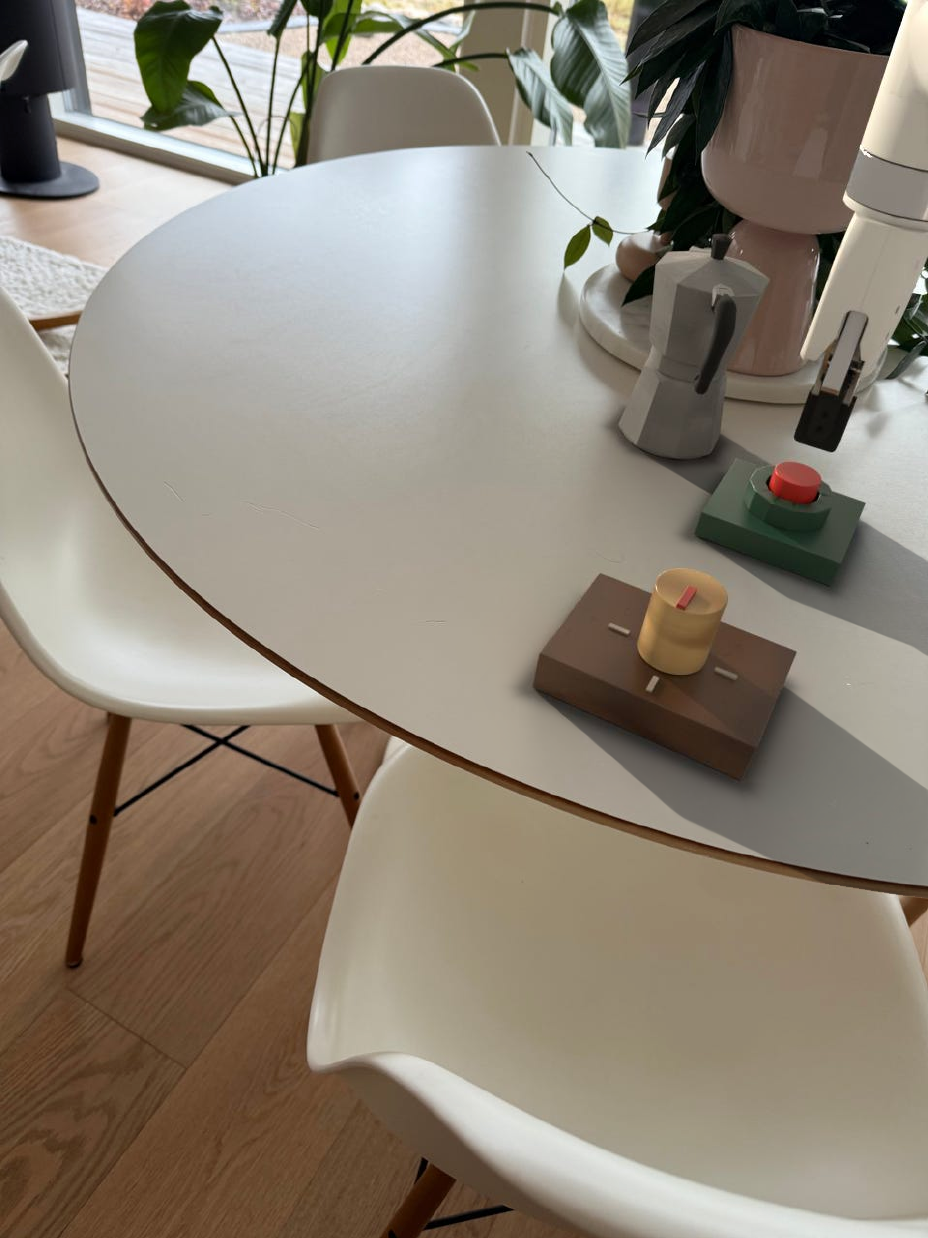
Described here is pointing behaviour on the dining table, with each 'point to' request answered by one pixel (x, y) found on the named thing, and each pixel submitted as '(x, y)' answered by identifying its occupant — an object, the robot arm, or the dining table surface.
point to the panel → (664, 679)
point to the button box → (780, 523)
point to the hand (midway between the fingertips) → (815, 442)
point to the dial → (681, 621)
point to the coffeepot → (691, 349)
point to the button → (795, 482)
